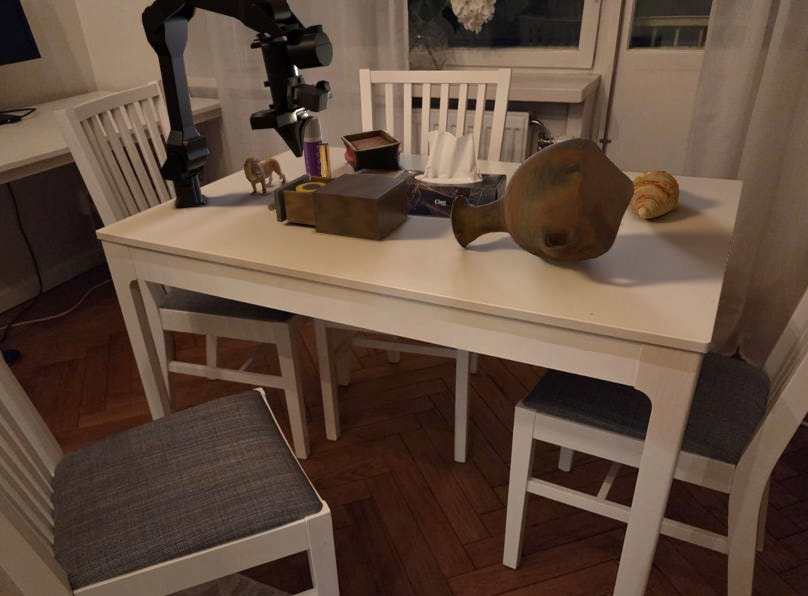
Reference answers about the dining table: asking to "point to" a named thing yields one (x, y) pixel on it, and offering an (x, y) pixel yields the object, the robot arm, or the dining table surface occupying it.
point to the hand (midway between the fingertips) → (299, 157)
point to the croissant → (654, 194)
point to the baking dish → (372, 150)
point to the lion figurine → (262, 172)
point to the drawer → (296, 201)
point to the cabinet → (360, 206)
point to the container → (312, 147)
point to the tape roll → (309, 187)
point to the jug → (554, 204)
